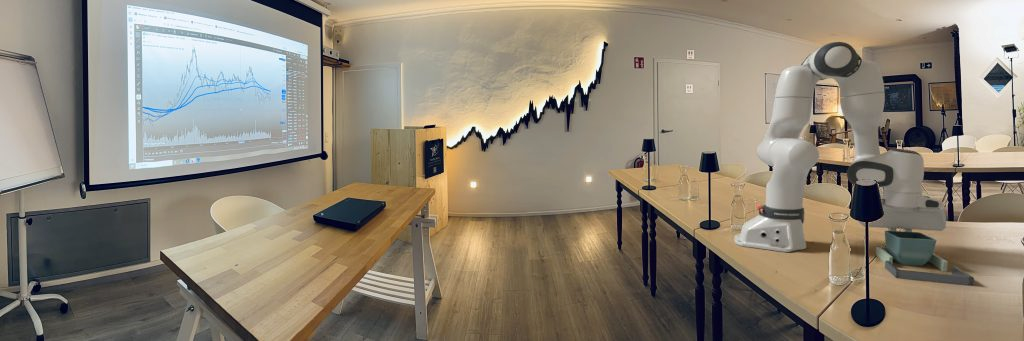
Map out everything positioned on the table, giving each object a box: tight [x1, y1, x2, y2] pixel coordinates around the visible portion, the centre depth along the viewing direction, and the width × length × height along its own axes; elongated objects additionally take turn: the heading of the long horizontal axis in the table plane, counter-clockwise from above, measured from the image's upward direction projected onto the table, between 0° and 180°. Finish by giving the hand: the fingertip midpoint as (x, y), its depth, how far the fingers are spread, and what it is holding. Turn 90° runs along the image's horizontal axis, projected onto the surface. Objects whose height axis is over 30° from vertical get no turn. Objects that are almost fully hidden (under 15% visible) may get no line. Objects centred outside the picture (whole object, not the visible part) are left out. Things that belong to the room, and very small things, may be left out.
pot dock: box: [884, 261, 974, 287], centre depth 111 cm, size 15×8×2 cm, turn 63°
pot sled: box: [875, 245, 949, 273], centre depth 121 cm, size 13×13×6 cm
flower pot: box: [884, 230, 937, 267], centre depth 121 cm, size 9×9×9 cm
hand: (898, 241), depth 127 cm, fingers closed
